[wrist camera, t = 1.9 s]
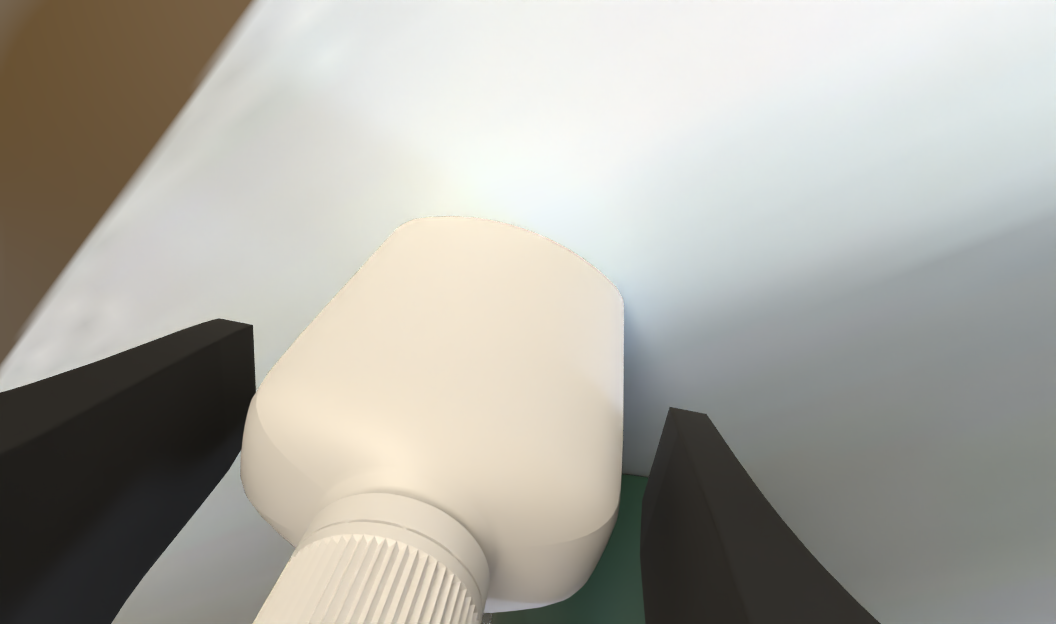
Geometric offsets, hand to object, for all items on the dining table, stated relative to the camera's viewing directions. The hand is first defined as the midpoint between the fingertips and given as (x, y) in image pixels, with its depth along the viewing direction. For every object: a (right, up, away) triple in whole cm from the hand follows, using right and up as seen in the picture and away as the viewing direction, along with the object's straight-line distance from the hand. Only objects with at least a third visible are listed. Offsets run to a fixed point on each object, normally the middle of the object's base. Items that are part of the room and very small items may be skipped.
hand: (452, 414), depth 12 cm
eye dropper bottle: (+1, +2, +5) cm, 6 cm away
